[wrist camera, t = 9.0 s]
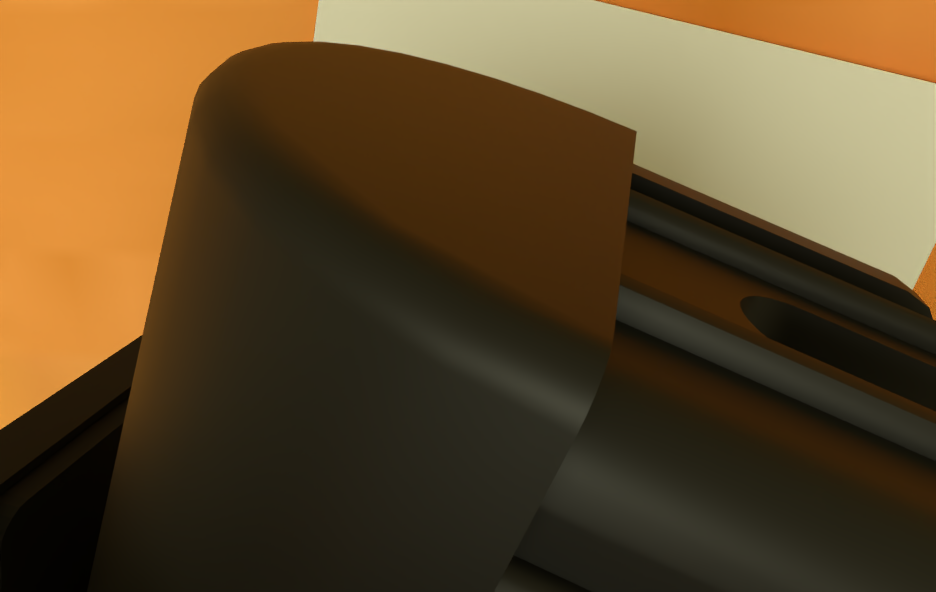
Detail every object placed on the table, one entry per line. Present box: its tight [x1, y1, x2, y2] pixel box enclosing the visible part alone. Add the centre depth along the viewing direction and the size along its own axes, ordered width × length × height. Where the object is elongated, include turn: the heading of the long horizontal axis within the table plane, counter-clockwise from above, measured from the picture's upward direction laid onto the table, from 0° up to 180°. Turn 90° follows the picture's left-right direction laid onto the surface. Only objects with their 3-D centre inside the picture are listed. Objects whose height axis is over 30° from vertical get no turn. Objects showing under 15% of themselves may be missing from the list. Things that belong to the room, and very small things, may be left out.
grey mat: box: [313, 0, 936, 290], centre depth 21 cm, size 16×12×1 cm
